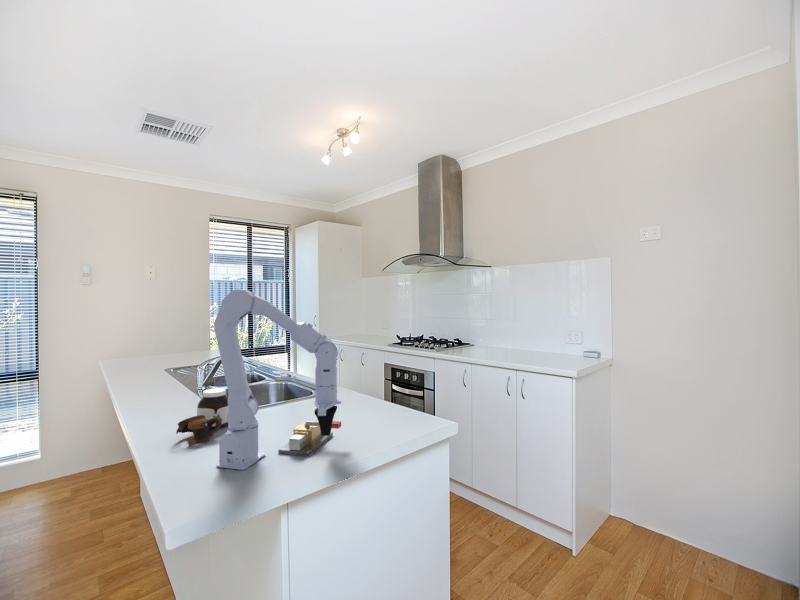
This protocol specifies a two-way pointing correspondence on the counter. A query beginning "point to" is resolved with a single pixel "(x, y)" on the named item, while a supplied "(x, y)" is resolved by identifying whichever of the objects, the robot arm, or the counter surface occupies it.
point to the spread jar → (214, 405)
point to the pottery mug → (199, 428)
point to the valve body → (304, 441)
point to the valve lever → (316, 423)
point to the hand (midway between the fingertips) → (326, 434)
